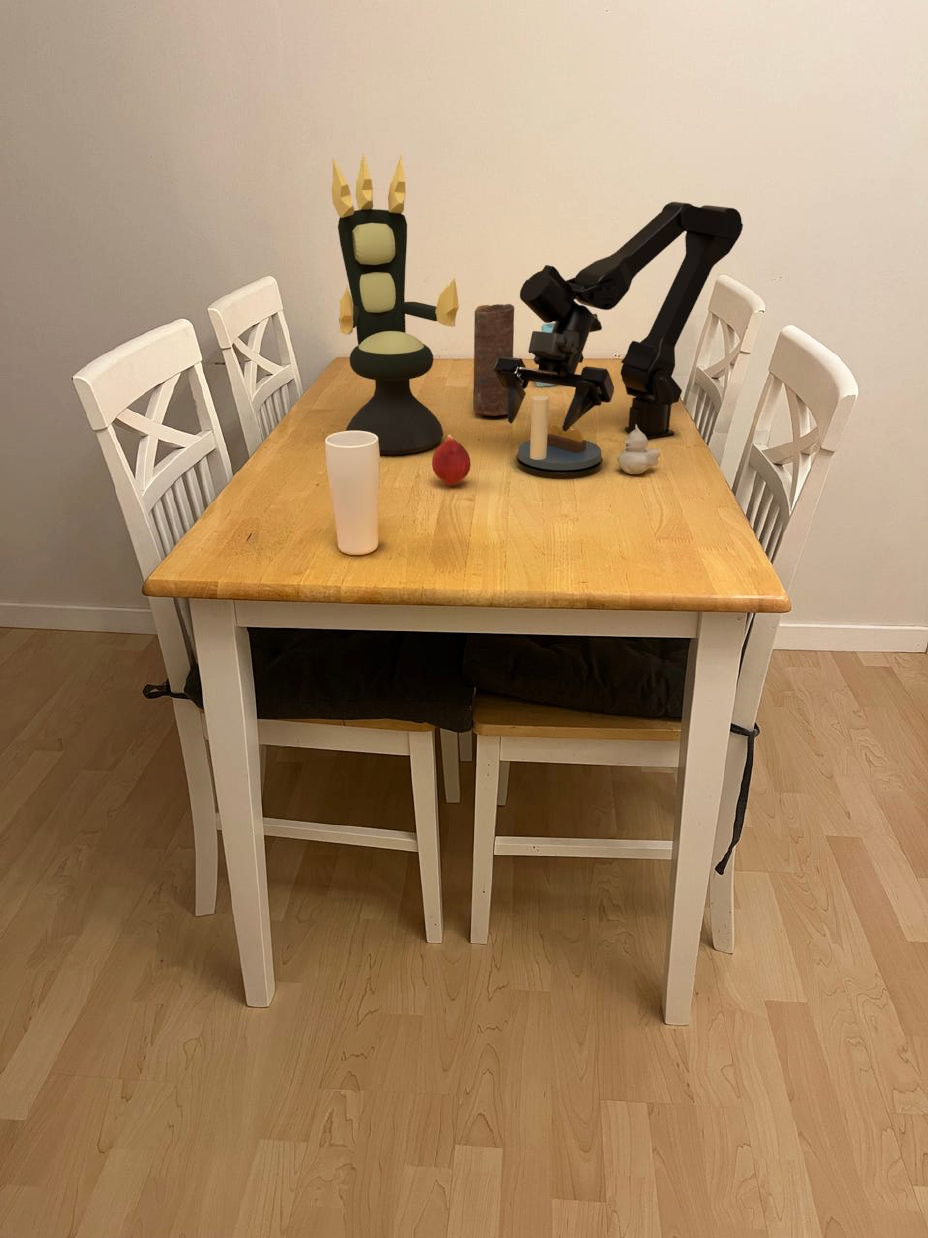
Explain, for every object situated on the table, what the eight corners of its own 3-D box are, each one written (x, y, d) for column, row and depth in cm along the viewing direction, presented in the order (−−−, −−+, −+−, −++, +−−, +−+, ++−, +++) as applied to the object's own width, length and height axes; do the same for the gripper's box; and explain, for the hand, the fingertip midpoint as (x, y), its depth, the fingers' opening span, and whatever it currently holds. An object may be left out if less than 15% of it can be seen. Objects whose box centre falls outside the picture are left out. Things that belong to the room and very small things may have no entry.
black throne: (353, 465, 156) (335, 157, 135) (320, 427, 174) (299, 151, 153) (462, 451, 162) (460, 155, 141) (418, 416, 180) (411, 149, 159)
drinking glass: (333, 539, 129) (325, 430, 122) (383, 537, 130) (378, 429, 123) (331, 560, 123) (323, 447, 116) (384, 558, 124) (379, 445, 117)
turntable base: (573, 446, 164) (573, 440, 164) (619, 470, 153) (619, 464, 153) (500, 457, 159) (500, 451, 159) (542, 484, 148) (543, 478, 148)
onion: (475, 481, 149) (475, 431, 145) (463, 494, 144) (463, 442, 140) (440, 477, 151) (439, 428, 147) (426, 490, 146) (425, 438, 142)
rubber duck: (614, 467, 155) (617, 418, 151) (654, 466, 155) (659, 418, 151) (619, 478, 150) (623, 428, 146) (661, 478, 150) (666, 428, 146)
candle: (508, 422, 177) (510, 309, 167) (469, 420, 178) (469, 308, 169) (515, 410, 183) (517, 302, 174) (477, 408, 185) (477, 300, 175)
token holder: (553, 438, 164) (555, 375, 159) (617, 455, 156) (622, 390, 151) (500, 457, 155) (502, 391, 150) (566, 476, 147) (569, 407, 142)
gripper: (499, 303, 149) (466, 390, 146) (613, 314, 142) (580, 406, 138) (519, 345, 159) (488, 427, 156) (627, 357, 152) (597, 444, 148)
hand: (536, 425), depth 149 cm, fingers open, 9 cm apart
